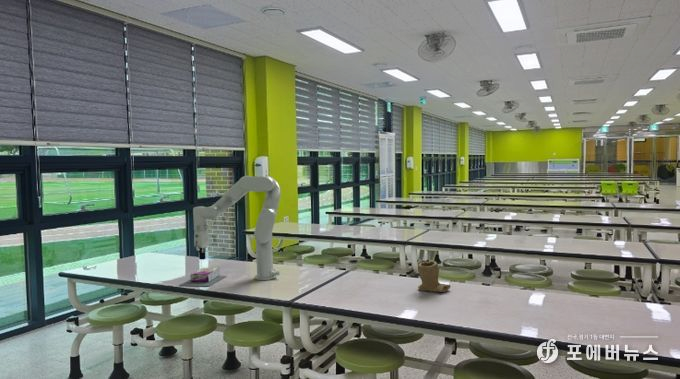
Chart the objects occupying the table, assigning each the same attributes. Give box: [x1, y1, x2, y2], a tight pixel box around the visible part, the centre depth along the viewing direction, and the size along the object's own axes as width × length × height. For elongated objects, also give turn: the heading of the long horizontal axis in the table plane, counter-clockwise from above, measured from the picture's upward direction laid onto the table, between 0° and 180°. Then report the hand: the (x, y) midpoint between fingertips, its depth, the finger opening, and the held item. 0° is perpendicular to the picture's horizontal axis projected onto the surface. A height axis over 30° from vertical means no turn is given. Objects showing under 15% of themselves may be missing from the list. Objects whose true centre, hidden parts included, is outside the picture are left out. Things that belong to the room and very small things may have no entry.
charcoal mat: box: [179, 275, 227, 288], centre depth 262 cm, size 18×22×1 cm
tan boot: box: [417, 260, 451, 293], centre depth 228 cm, size 15×12×15 cm
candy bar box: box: [190, 267, 221, 282], centre depth 266 cm, size 11×5×16 cm
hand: (202, 259), depth 262 cm, fingers closed
